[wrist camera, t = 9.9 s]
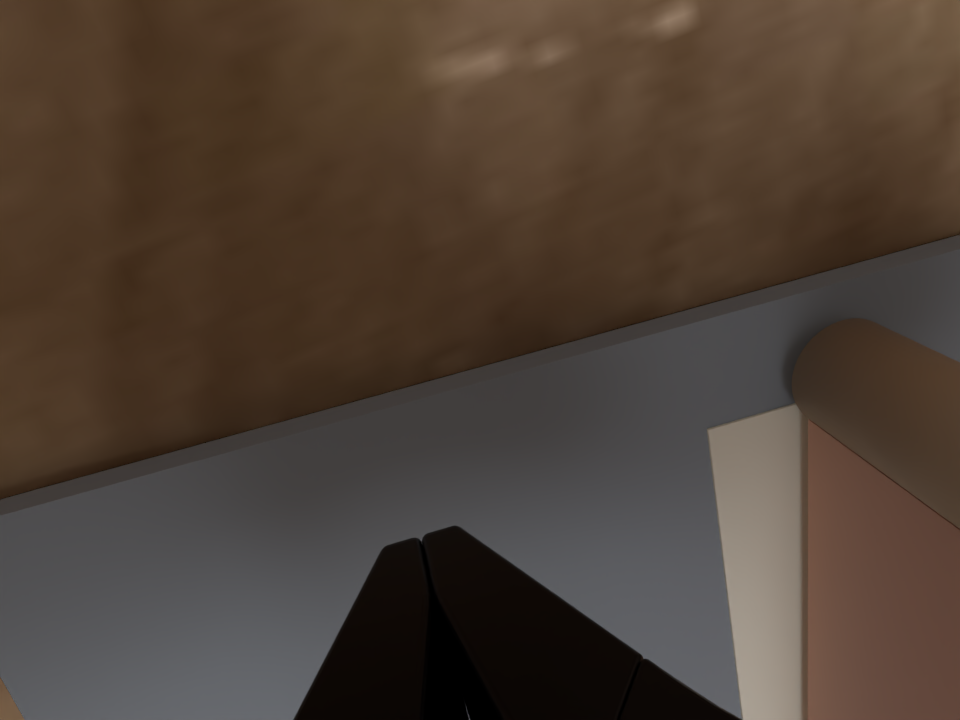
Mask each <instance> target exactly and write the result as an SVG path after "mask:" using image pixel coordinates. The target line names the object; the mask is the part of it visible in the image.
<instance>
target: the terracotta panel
mask: <svg viewBox="0 0 960 720" xmlns="http://www.w3.org/2000/svg"><path fill="white" fill-rule="evenodd" d="M792 393H793V398H794V400H795V403H796V405H797V407H798V408H799V410H800V411H801V412H802V413H803V414H804V415H805V416H806V417H807V418H808V720H960V362H958V361H956V360H954V359H951V358H949V357H947V356H945V355H943V354H941V353H939V352H937V351H935V350H932V349H930V348H928V347H926V346H924V345H922V344H920V343H918V342H915V341H913V340H911V339H909V338H907V337H905V336H903V335H901V334H899V333H896V332H894V331H892V330H890V329H888V328H886V327H884V326H882V325H879V324H877V323H875V322H873V321H870V320H867V319H861V318H852V319H845V320H842V321H838V322H836V323H834V324H831V325H829V326H828V327H826V328H824V329H823V330H821V331H820V332H819V333H817V334H816V335H815V336H814V337H813V338H812V339H811V340H810V341H809V342H808V343H807V345H806V346H805V347H804V349H803V350H802V352H801V354H800V355H799V357H798V359H797V362H796V364H795V367H794V370H793V375H792Z"/></svg>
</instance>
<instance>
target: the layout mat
mask: <svg viewBox="0 0 960 720" xmlns="http://www.w3.org/2000/svg"><path fill="white" fill-rule="evenodd" d="M852 318H861V319H867V320H870V321H873V322H875V323H877V324H879V325H882V326H884V327H886V328H888V329H890V330H892V331H894V332H896V333H899V334H901V335H903V336H905V337H907V338H909V339H911V340H913V341H915V342H918V343H920V344H922V345H924V346H926V347H928V348H930V349H932V350H935V351H937V352H939V353H941V354H943V355H945V356H947V357H949V358H951V359H954V360H956V361H958V362H960V235H957V236H953V237H950V238H946V239H942V240H939V241H935V242H932V243H928V244H924V245H921V246H917V247H913V248H910V249H906V250H903V251H899V252H895V253H892V254H888V255H884V256H881V257H877V258H874V259H870V260H866V261H863V262H859V263H855V264H852V265H848V266H845V267H841V268H837V269H834V270H830V271H826V272H823V273H819V274H816V275H812V276H808V277H805V278H801V279H797V280H794V281H790V282H787V283H783V284H779V285H776V286H772V287H768V288H765V289H761V290H758V291H754V292H750V293H747V294H743V295H739V296H736V297H732V298H729V299H725V300H721V301H718V302H714V303H710V304H707V305H703V306H700V307H696V308H692V309H689V310H685V311H681V312H678V313H674V314H671V315H667V316H663V317H660V318H656V319H653V320H649V321H645V322H642V323H638V324H634V325H631V326H627V327H624V328H620V329H616V330H613V331H609V332H605V333H602V334H598V335H595V336H591V337H587V338H584V339H580V340H576V341H573V342H569V343H566V344H562V345H558V346H555V347H551V348H547V349H544V350H540V351H537V352H533V353H529V354H526V355H522V356H518V357H515V358H511V359H508V360H504V361H500V362H497V363H493V364H489V365H486V366H482V367H479V368H475V369H471V370H468V371H464V372H460V373H457V374H453V375H450V376H446V377H442V378H439V379H435V380H431V381H428V382H424V383H421V384H417V385H413V386H410V387H406V388H403V389H399V390H395V391H392V392H388V393H384V394H381V395H377V396H374V397H370V398H366V399H363V400H359V401H355V402H352V403H348V404H345V405H341V406H337V407H334V408H330V409H326V410H323V411H319V412H316V413H312V414H308V415H305V416H301V417H297V418H294V419H290V420H287V421H283V422H279V423H276V424H272V425H268V426H265V427H261V428H258V429H254V430H250V431H247V432H243V433H239V434H236V435H232V436H229V437H225V438H221V439H218V440H214V441H210V442H207V443H203V444H200V445H196V446H192V447H189V448H185V449H181V450H178V451H174V452H171V453H167V454H163V455H160V456H156V457H152V458H149V459H145V460H142V461H138V462H134V463H131V464H127V465H124V466H120V467H116V468H113V469H109V470H105V471H102V472H98V473H95V474H91V475H87V476H84V477H80V478H76V479H73V480H69V481H66V482H62V483H58V484H55V485H51V486H47V487H44V488H40V489H37V490H33V491H29V492H26V493H22V494H18V495H15V496H11V497H8V498H4V499H0V677H1V679H2V681H3V682H4V684H5V686H6V688H7V689H8V691H9V693H10V695H11V696H12V698H13V700H14V702H15V704H16V705H17V707H18V709H19V711H20V712H21V714H22V716H23V718H24V719H25V720H293V719H294V717H295V715H296V713H297V711H298V709H299V707H300V705H301V703H302V702H303V700H304V698H305V696H306V694H307V692H308V690H309V688H310V686H311V684H312V682H313V680H314V678H315V676H316V675H317V673H318V671H319V669H320V667H321V665H322V663H323V661H324V659H325V657H326V655H327V653H328V651H329V649H330V648H331V646H332V644H333V642H334V640H335V638H336V636H337V634H338V632H339V630H340V628H341V626H342V624H343V623H344V621H345V619H346V617H347V615H348V613H349V611H350V609H351V607H352V605H353V603H354V601H355V599H356V597H357V596H358V594H359V592H360V590H361V588H362V586H363V584H364V582H365V580H366V578H367V576H368V574H369V572H370V570H371V569H372V567H373V565H374V563H375V561H376V559H377V557H378V555H379V553H380V551H381V550H382V548H383V547H385V546H386V545H389V544H393V543H396V542H400V541H403V540H406V539H410V538H415V537H416V538H419V539H420V540H421V542H422V538H423V536H424V535H425V534H427V533H430V532H433V531H437V530H440V529H443V528H447V527H450V526H454V525H456V526H459V527H461V528H462V529H464V530H465V531H467V532H468V533H469V534H471V535H472V536H474V537H475V538H477V539H478V540H479V541H481V542H482V543H484V544H485V545H486V546H488V547H489V548H491V549H492V550H494V551H495V552H496V553H498V554H499V555H501V556H502V557H504V558H505V559H506V560H508V561H509V562H511V563H512V564H513V565H515V566H516V567H518V568H519V569H521V570H522V571H523V572H525V573H526V574H528V575H529V576H531V577H532V578H533V579H535V580H536V581H538V582H539V583H540V584H542V585H543V586H545V587H546V588H548V589H549V590H550V591H552V592H553V593H555V594H556V595H558V596H559V597H560V598H562V599H563V600H565V601H566V602H568V603H569V604H570V605H572V606H573V607H575V608H576V609H577V610H579V611H580V612H582V613H583V614H585V615H586V616H587V617H589V618H590V619H592V620H593V621H595V622H596V623H597V624H599V625H600V626H602V627H603V628H604V629H606V630H607V631H609V632H610V633H612V634H613V635H614V636H616V637H617V638H619V639H620V640H622V641H623V642H624V643H626V644H627V645H629V646H630V647H631V648H633V649H634V650H636V651H637V652H639V653H640V654H641V655H642V656H643V658H644V659H649V660H651V661H652V662H653V663H655V664H656V665H658V666H659V667H660V668H662V669H663V670H664V671H666V672H667V673H669V674H670V675H672V676H673V677H675V678H676V679H678V680H679V681H681V682H682V683H684V684H685V685H687V686H688V687H690V688H691V689H693V690H694V691H696V692H697V693H699V694H700V695H702V696H704V697H705V698H707V699H708V700H710V701H711V702H713V703H714V704H716V705H717V706H719V707H721V708H723V709H724V710H726V711H728V712H730V713H731V714H733V715H735V716H737V717H738V718H740V719H742V720H808V418H807V417H806V416H805V415H804V414H803V413H802V412H801V411H800V410H799V408H798V407H797V405H796V403H795V400H794V398H793V393H792V375H793V370H794V367H795V364H796V362H797V359H798V357H799V355H800V354H801V352H802V350H803V349H804V347H805V346H806V345H807V343H808V342H809V341H810V340H811V339H812V338H813V337H814V336H815V335H816V334H817V333H819V332H820V331H821V330H823V329H824V328H826V327H828V326H829V325H831V324H834V323H836V322H838V321H842V320H845V319H852ZM466 709H467V708H466ZM468 716H469V715H468ZM469 720H470V718H469Z"/></svg>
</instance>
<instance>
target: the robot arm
mask: <svg viewBox="0 0 960 720" xmlns="http://www.w3.org/2000/svg"><path fill="white" fill-rule="evenodd" d="M466 708H467V709H466ZM468 715H469V716H468ZM469 718H470V720H742V719H740V718H738V717H737V716H735V715H733V714H731V713H730V712H728V711H726V710H724V709H723V708H721V707H719V706H717V705H716V704H714V703H713V702H711V701H710V700H708V699H707V698H705V697H704V696H702V695H700V694H699V693H697V692H696V691H694V690H693V689H691V688H690V687H688V686H687V685H685V684H684V683H682V682H681V681H679V680H678V679H676V678H675V677H673V676H672V675H670V674H669V673H667V672H666V671H664V670H663V669H662V668H660V667H659V666H658V665H656V664H655V663H653V662H652V661H651V660H649V659H644V658H643V656H642V655H641V654H640V653H639V652H637V651H636V650H634V649H633V648H631V647H630V646H629V645H627V644H626V643H624V642H623V641H622V640H620V639H619V638H617V637H616V636H614V635H613V634H612V633H610V632H609V631H607V630H606V629H604V628H603V627H602V626H600V625H599V624H597V623H596V622H595V621H593V620H592V619H590V618H589V617H587V616H586V615H585V614H583V613H582V612H580V611H579V610H577V609H576V608H575V607H573V606H572V605H570V604H569V603H568V602H566V601H565V600H563V599H562V598H560V597H559V596H558V595H556V594H555V593H553V592H552V591H550V590H549V589H548V588H546V587H545V586H543V585H542V584H540V583H539V582H538V581H536V580H535V579H533V578H532V577H531V576H529V575H528V574H526V573H525V572H523V571H522V570H521V569H519V568H518V567H516V566H515V565H513V564H512V563H511V562H509V561H508V560H506V559H505V558H504V557H502V556H501V555H499V554H498V553H496V552H495V551H494V550H492V549H491V548H489V547H488V546H486V545H485V544H484V543H482V542H481V541H479V540H478V539H477V538H475V537H474V536H472V535H471V534H469V533H468V532H467V531H465V530H464V529H462V528H461V527H459V526H456V525H454V526H450V527H447V528H443V529H440V530H437V531H433V532H430V533H427V534H425V535H424V536H423V538H422V542H421V540H420V539H419V538H416V537H415V538H410V539H406V540H403V541H400V542H396V543H393V544H389V545H386V546H385V547H383V548H382V550H381V551H380V553H379V555H378V557H377V559H376V561H375V563H374V565H373V567H372V569H371V570H370V572H369V574H368V576H367V578H366V580H365V582H364V584H363V586H362V588H361V590H360V592H359V594H358V596H357V597H356V599H355V601H354V603H353V605H352V607H351V609H350V611H349V613H348V615H347V617H346V619H345V621H344V623H343V624H342V626H341V628H340V630H339V632H338V634H337V636H336V638H335V640H334V642H333V644H332V646H331V648H330V649H329V651H328V653H327V655H326V657H325V659H324V661H323V663H322V665H321V667H320V669H319V671H318V673H317V675H316V676H315V678H314V680H313V682H312V684H311V686H310V688H309V690H308V692H307V694H306V696H305V698H304V700H303V702H302V703H301V705H300V707H299V709H298V711H297V713H296V715H295V717H294V719H293V720H469Z"/></svg>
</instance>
